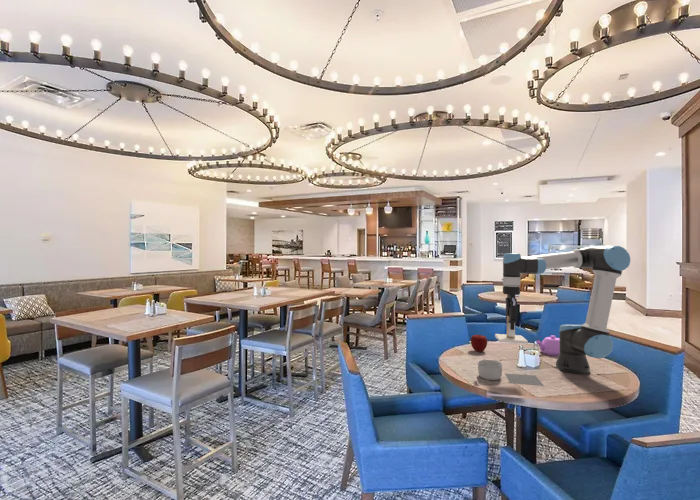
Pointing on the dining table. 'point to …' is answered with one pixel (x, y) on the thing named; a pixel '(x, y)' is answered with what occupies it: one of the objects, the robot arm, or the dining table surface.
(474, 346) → the apple
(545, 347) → the teapot
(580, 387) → the dining table surface
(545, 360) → the dining table surface
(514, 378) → the mat
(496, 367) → the teacup
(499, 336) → the lid
